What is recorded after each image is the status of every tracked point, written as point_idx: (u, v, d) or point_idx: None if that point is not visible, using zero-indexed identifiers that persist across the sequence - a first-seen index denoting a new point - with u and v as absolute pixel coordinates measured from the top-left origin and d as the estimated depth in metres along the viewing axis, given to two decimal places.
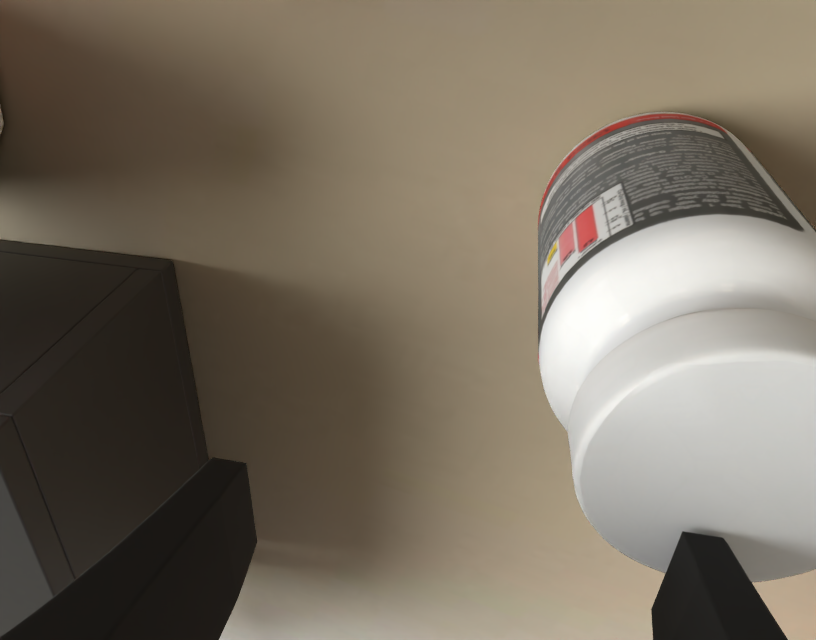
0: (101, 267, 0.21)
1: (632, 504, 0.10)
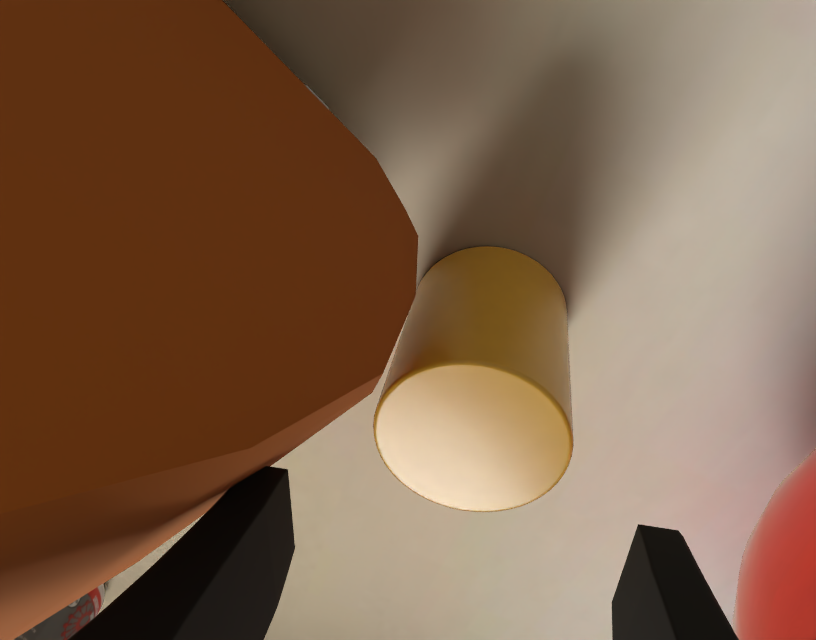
0: None
1: None
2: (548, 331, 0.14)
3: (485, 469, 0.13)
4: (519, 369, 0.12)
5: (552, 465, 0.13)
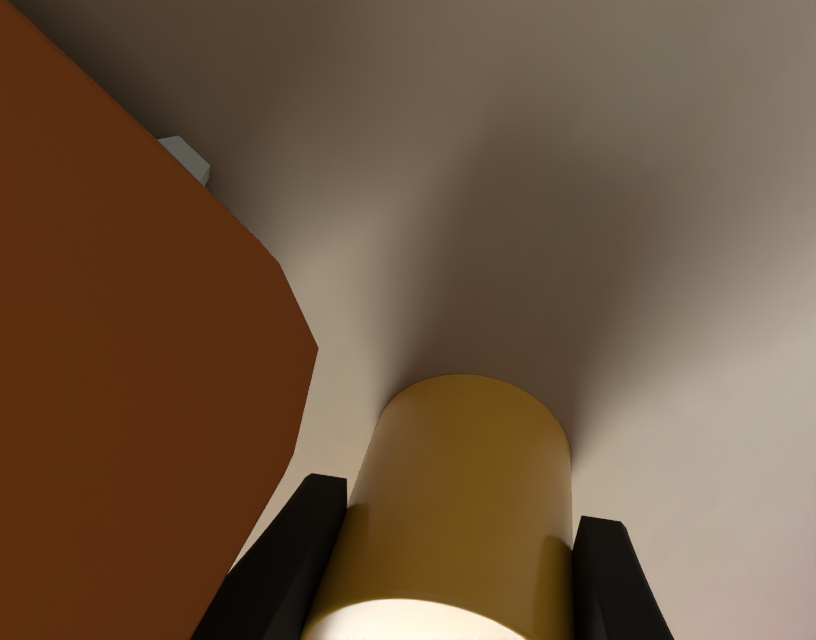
0: None
1: None
2: (542, 516, 0.10)
3: None
4: (495, 608, 0.08)
5: None
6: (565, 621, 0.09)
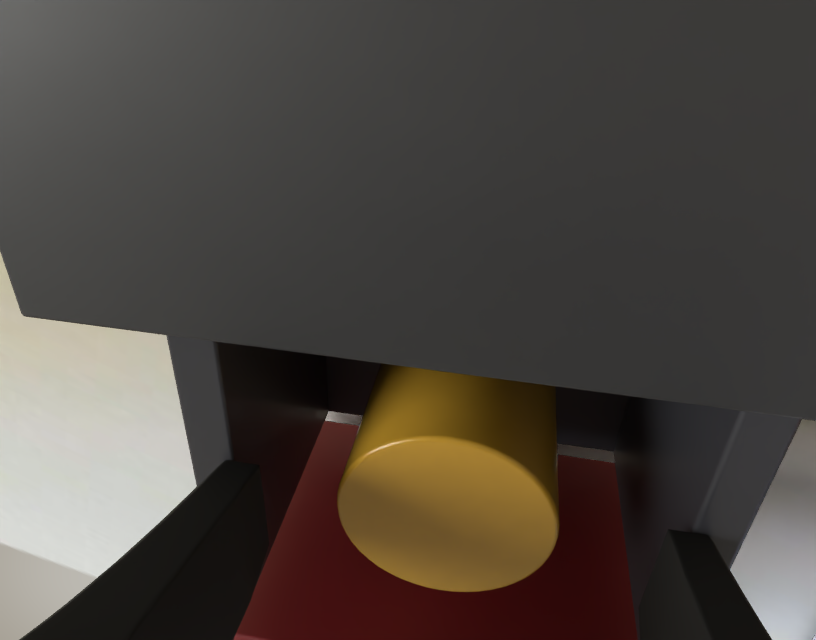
0: None
1: None
2: (532, 392, 0.12)
3: (462, 549, 0.12)
4: (496, 447, 0.11)
5: (536, 547, 0.12)
6: (550, 467, 0.12)
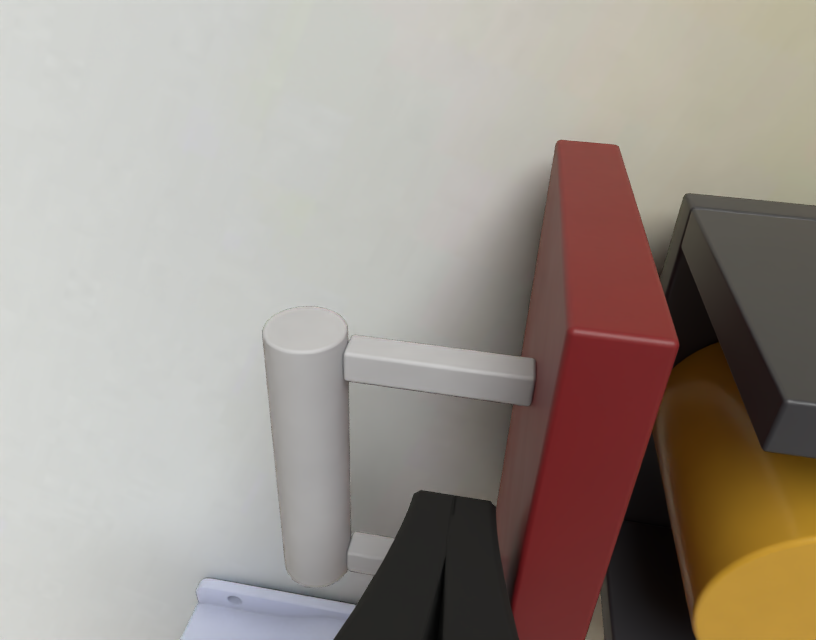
0: None
1: None
2: None
3: (782, 635, 0.10)
4: None
5: None
6: None
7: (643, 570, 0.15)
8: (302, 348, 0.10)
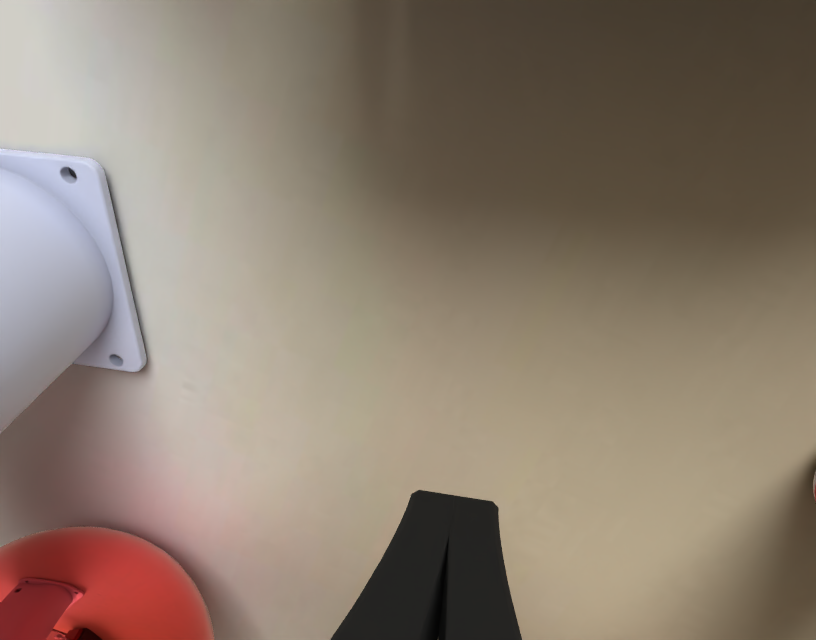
0: None
1: None
2: None
3: None
4: None
5: None
6: None
7: None
8: None
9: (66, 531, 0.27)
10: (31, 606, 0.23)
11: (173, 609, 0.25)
